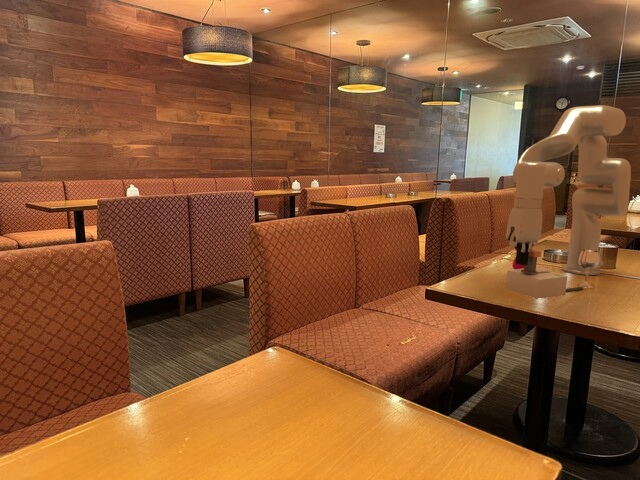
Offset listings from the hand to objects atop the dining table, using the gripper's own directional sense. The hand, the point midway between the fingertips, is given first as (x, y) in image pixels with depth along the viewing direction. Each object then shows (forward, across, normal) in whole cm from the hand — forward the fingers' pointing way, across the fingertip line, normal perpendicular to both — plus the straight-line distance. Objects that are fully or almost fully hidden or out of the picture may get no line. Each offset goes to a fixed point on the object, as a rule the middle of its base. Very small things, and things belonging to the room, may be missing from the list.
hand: (521, 264), depth 137 cm
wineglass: (+10, -29, +1) cm, 31 cm away
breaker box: (+9, -12, 0) cm, 15 cm away
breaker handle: (+3, -4, 0) cm, 5 cm away
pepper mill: (+10, -17, -14) cm, 24 cm away
